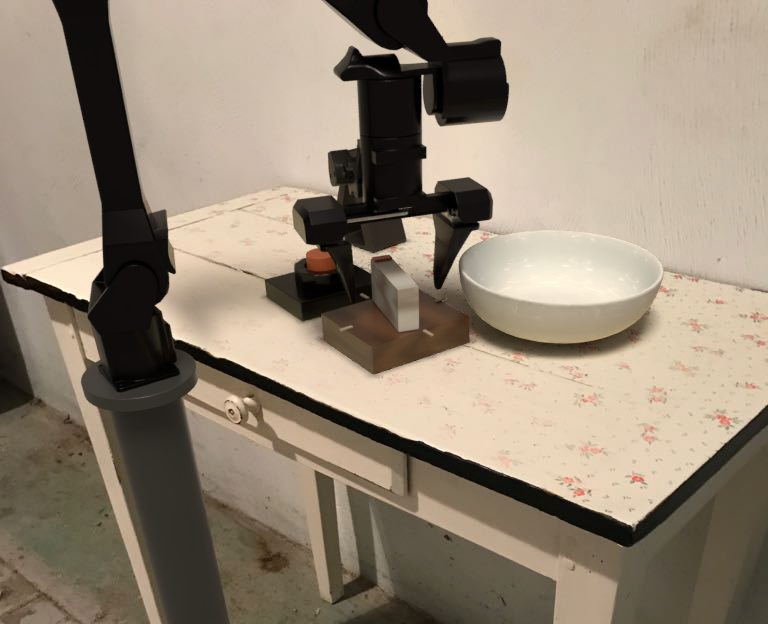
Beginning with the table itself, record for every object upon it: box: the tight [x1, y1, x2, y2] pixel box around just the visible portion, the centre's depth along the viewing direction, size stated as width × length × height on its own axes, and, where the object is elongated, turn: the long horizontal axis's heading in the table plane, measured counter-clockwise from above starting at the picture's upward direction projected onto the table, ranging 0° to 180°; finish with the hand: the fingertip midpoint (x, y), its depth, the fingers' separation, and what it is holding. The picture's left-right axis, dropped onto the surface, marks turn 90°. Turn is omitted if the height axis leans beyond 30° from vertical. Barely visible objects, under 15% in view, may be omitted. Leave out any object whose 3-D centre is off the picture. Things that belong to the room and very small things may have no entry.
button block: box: [264, 257, 372, 322], centre depth 96 cm, size 11×9×4 cm
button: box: [305, 247, 336, 271], centre depth 95 cm, size 4×4×2 cm
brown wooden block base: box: [320, 288, 471, 375], centre depth 86 cm, size 13×13×3 cm
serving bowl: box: [458, 229, 665, 344], centre depth 87 cm, size 21×21×7 cm
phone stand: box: [336, 147, 407, 253], centre depth 109 cm, size 9×6×12 cm, turn 43°
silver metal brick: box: [370, 254, 420, 332], centre depth 84 cm, size 9×2×5 cm, turn 18°
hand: (395, 295), depth 84 cm, fingers open, 9 cm apart
